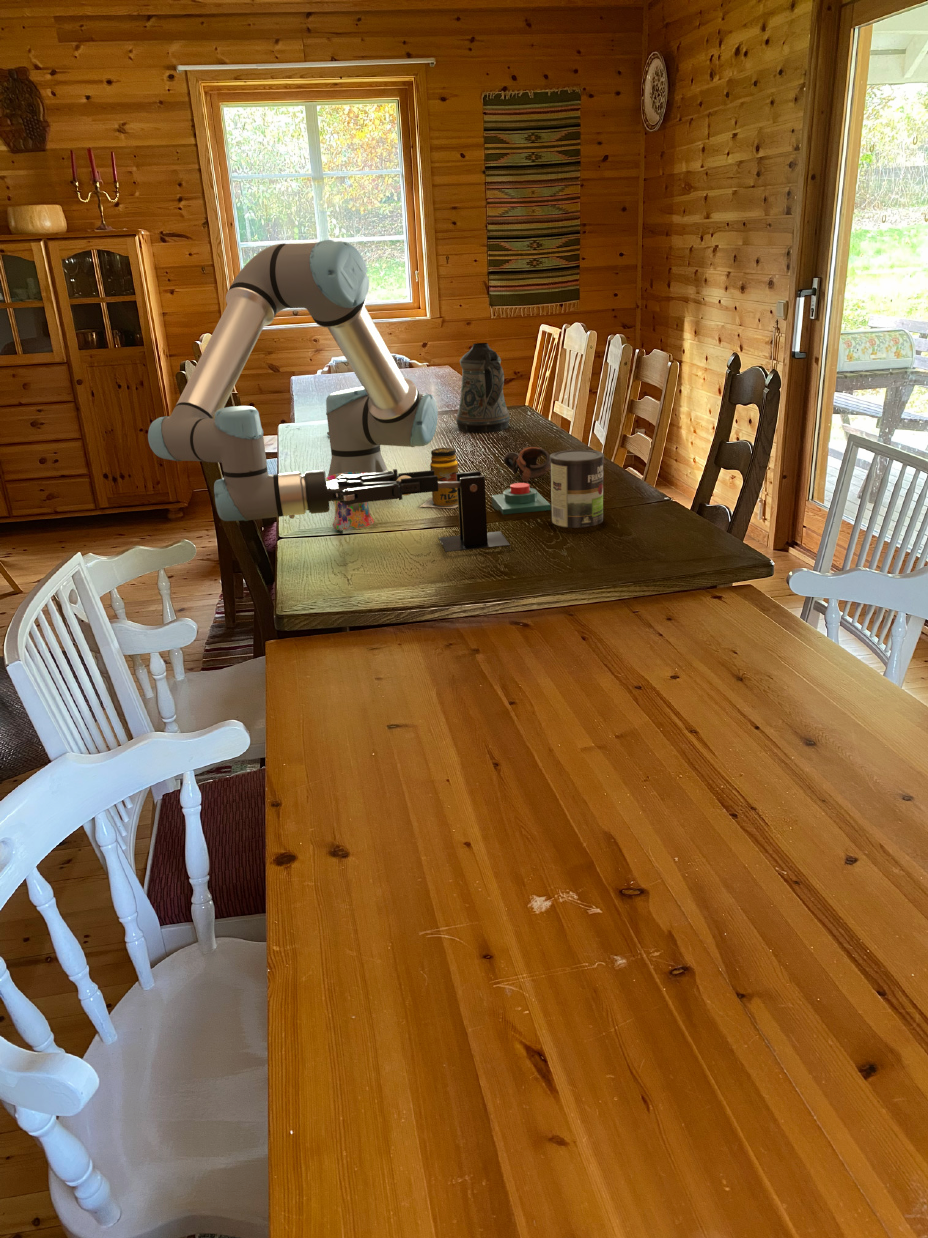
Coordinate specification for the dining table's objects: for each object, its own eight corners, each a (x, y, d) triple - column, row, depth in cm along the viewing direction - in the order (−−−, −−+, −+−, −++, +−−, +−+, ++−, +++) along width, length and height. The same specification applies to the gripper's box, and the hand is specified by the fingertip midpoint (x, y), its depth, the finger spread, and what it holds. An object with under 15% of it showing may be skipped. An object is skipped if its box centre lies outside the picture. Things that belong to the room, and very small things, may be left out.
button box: (491, 504, 198) (491, 486, 196) (536, 500, 199) (536, 482, 198) (503, 519, 187) (502, 500, 186) (550, 514, 188) (550, 496, 187)
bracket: (445, 557, 166) (441, 483, 161) (438, 543, 174) (434, 472, 169) (510, 550, 168) (507, 477, 163) (500, 537, 176) (497, 466, 171)
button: (508, 491, 193) (508, 483, 193) (527, 490, 194) (527, 481, 193) (512, 496, 190) (512, 488, 189) (531, 494, 190) (531, 486, 190)
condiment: (456, 508, 197) (452, 453, 192) (419, 507, 199) (415, 452, 195) (466, 499, 203) (463, 445, 199) (430, 498, 206) (426, 445, 201)
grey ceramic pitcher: (476, 421, 292) (472, 339, 283) (528, 425, 281) (526, 340, 272) (445, 430, 280) (440, 346, 271) (498, 435, 269) (495, 347, 260)
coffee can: (611, 521, 182) (612, 450, 177) (590, 535, 174) (590, 462, 169) (565, 515, 187) (564, 447, 182) (541, 529, 179) (540, 458, 174)
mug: (373, 533, 183) (368, 481, 179) (327, 535, 183) (321, 483, 179) (381, 517, 194) (376, 467, 190) (338, 518, 194) (332, 469, 190)
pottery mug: (554, 474, 223) (558, 448, 216) (542, 499, 217) (546, 474, 211) (507, 461, 225) (510, 435, 218) (494, 486, 219) (497, 460, 213)
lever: (396, 497, 163) (396, 477, 162) (394, 493, 167) (394, 473, 165) (479, 496, 166) (480, 476, 165) (476, 491, 169) (476, 472, 168)
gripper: (307, 501, 171) (431, 489, 174) (308, 526, 156) (444, 512, 159) (302, 462, 168) (428, 450, 171) (303, 483, 153) (441, 470, 156)
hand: (435, 480), depth 165 cm, fingers closed on lever, 4 cm apart
